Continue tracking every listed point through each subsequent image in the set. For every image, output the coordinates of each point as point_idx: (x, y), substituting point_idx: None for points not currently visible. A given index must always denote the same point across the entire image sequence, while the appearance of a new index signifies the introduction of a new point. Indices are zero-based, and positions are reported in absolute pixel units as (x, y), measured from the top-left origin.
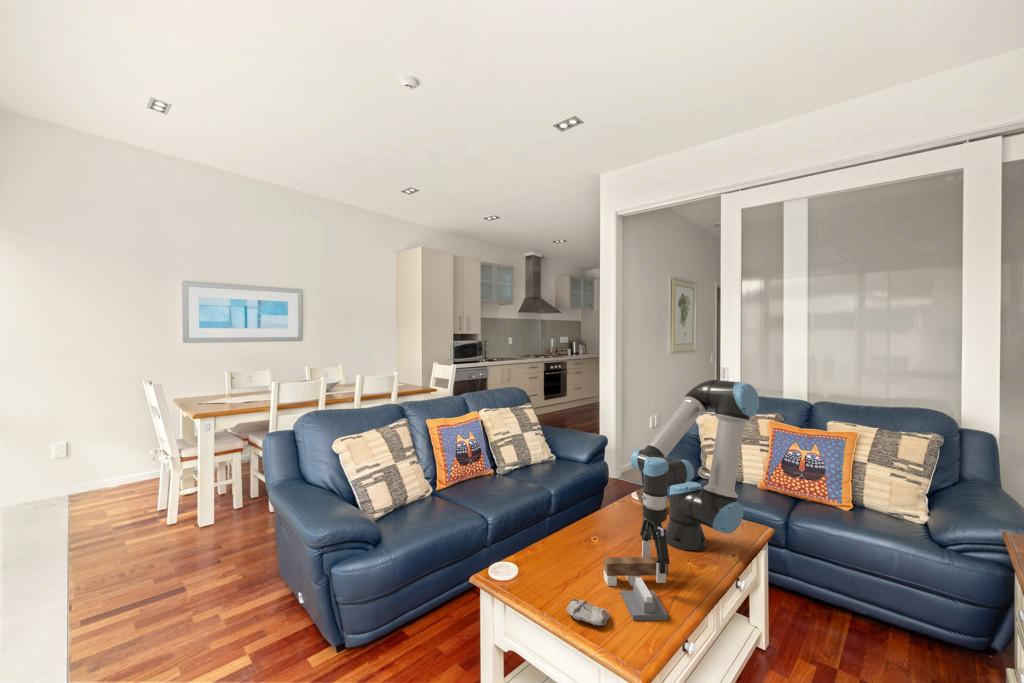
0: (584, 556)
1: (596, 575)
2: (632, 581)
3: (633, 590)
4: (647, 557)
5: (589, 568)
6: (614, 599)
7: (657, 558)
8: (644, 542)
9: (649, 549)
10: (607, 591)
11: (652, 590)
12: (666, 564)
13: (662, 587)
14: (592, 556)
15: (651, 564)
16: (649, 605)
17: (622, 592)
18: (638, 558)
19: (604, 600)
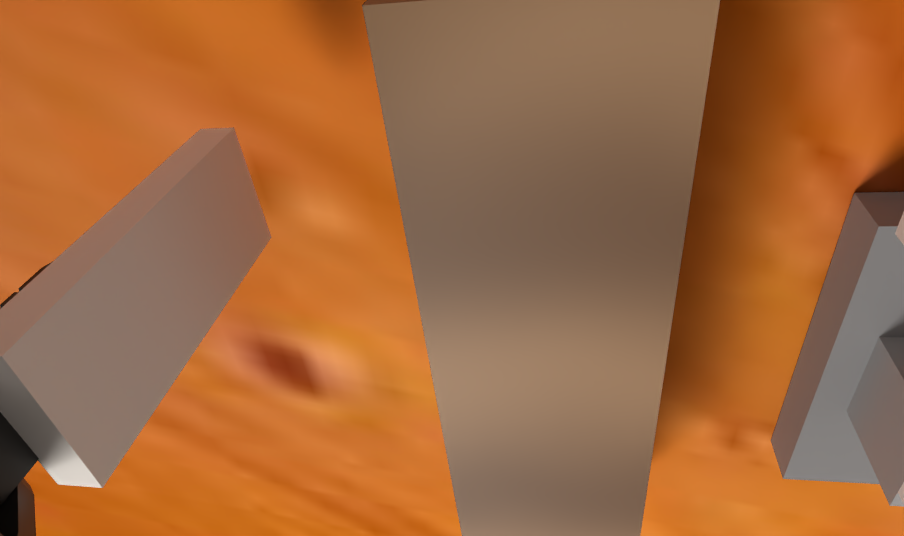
0: (209, 500)
1: None
2: None
3: (860, 428)
4: (444, 346)
5: (372, 511)
6: (815, 486)
7: (467, 190)
8: (98, 452)
9: (136, 254)
10: (692, 495)
11: (882, 233)
12: (706, 29)
13: None
14: (188, 464)
15: (666, 334)
16: None
17: (818, 477)
18: (491, 460)
19: (807, 532)
